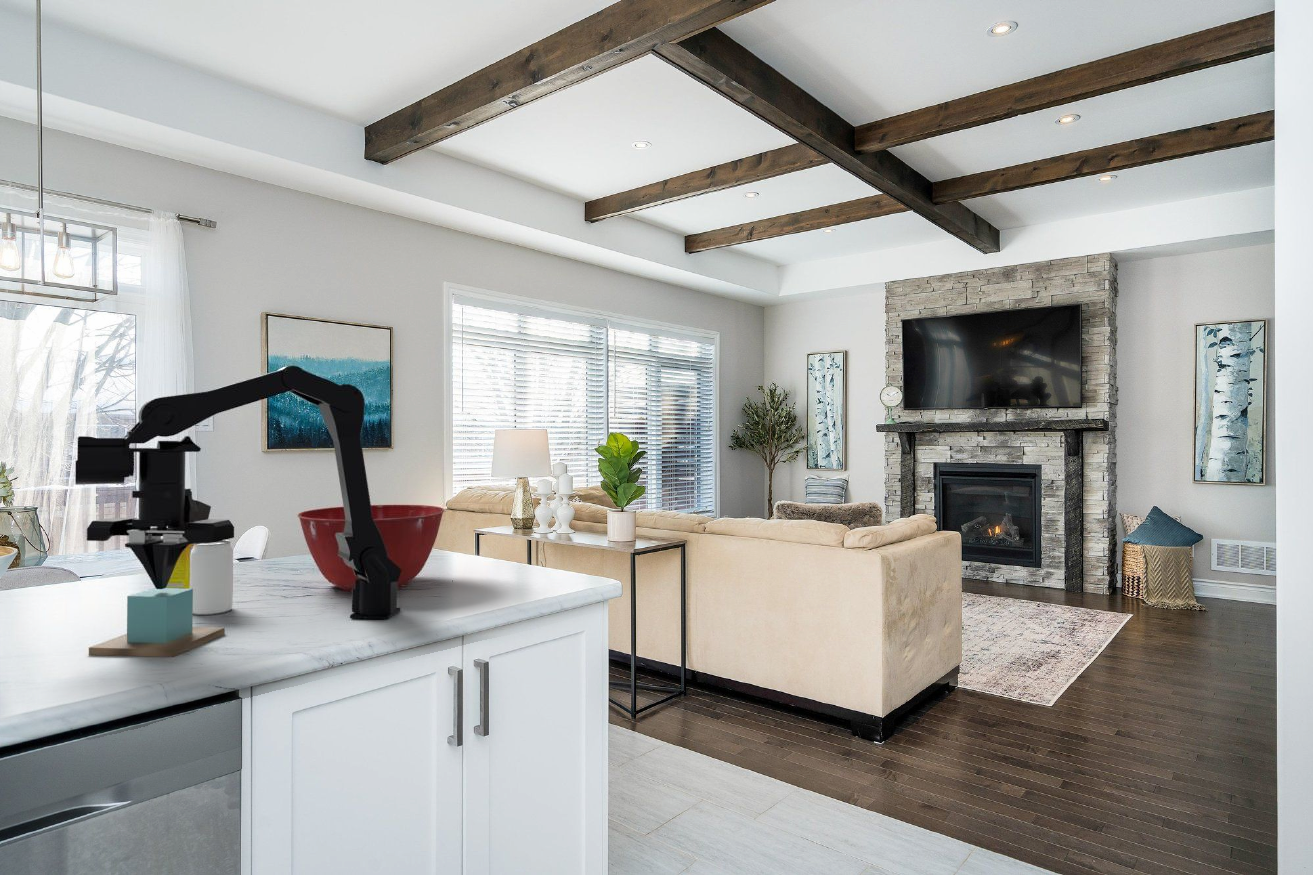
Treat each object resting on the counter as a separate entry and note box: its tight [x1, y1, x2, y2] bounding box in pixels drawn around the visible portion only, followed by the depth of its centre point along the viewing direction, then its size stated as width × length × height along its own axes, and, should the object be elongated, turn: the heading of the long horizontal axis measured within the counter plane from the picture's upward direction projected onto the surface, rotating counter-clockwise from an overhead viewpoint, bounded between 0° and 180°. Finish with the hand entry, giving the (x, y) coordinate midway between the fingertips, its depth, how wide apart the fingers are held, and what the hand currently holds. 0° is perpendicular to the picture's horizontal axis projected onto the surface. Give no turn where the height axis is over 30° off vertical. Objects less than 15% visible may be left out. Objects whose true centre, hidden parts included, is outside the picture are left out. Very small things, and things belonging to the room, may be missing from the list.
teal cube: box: [126, 587, 194, 643], centre depth 111 cm, size 6×6×7 cm
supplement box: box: [166, 544, 194, 589], centre depth 140 cm, size 6×6×11 cm
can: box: [190, 539, 234, 616], centre depth 132 cm, size 6×6×12 cm
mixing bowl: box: [296, 504, 445, 592], centre depth 156 cm, size 28×28×16 cm
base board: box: [88, 626, 226, 658], centre depth 111 cm, size 12×12×1 cm
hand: (161, 588), depth 111 cm, fingers closed
